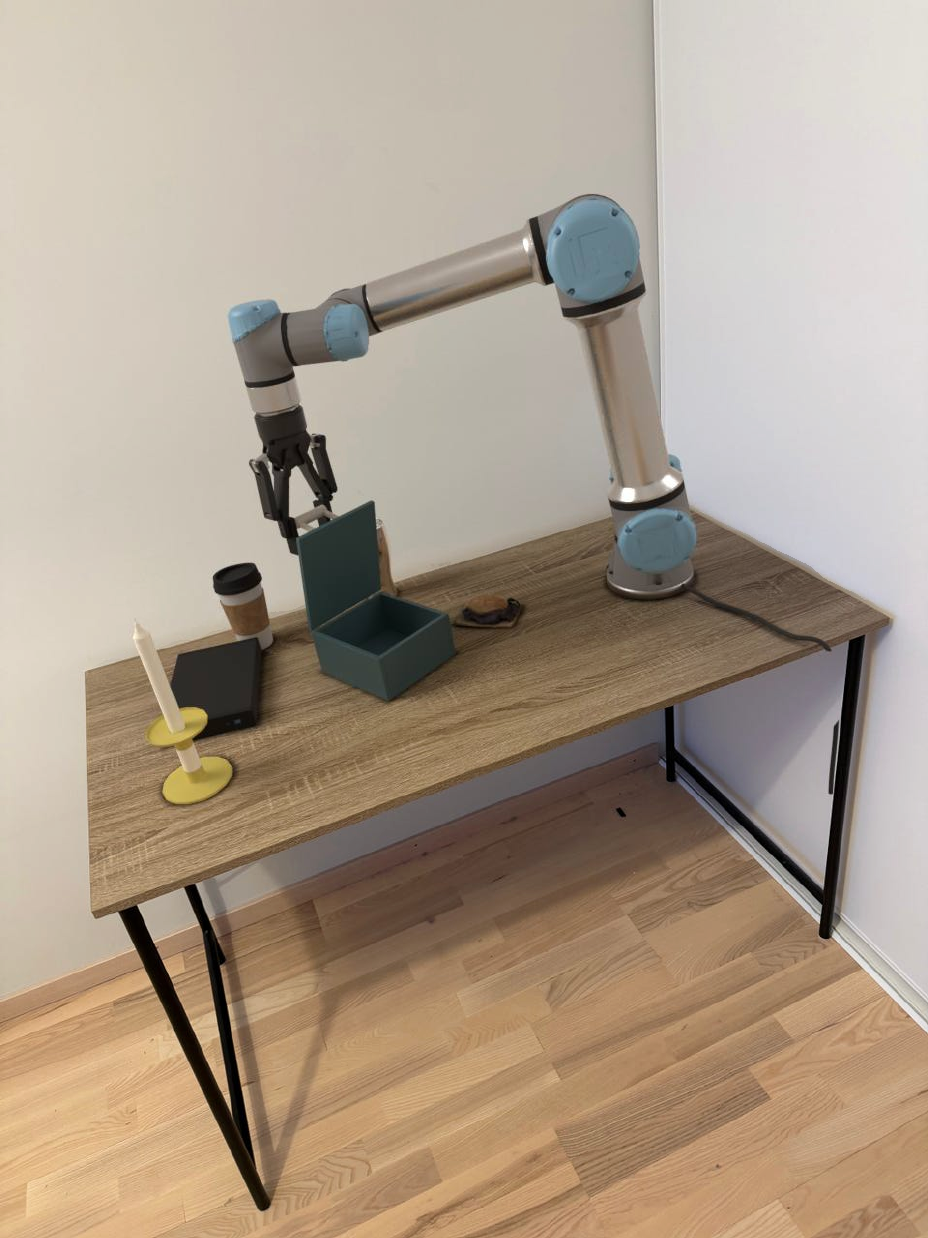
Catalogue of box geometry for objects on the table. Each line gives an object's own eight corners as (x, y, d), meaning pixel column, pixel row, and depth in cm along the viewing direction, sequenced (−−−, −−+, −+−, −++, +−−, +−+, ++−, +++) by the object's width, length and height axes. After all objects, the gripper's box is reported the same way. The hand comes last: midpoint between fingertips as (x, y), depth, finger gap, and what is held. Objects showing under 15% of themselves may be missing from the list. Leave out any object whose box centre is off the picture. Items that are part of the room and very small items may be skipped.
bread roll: (454, 628, 148) (450, 610, 146) (468, 604, 154) (464, 586, 153) (512, 629, 144) (509, 611, 142) (524, 604, 151) (521, 586, 149)
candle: (191, 754, 126) (130, 597, 113) (246, 762, 123) (189, 601, 109) (148, 798, 119) (77, 636, 105) (205, 809, 115) (138, 642, 102)
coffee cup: (269, 656, 149) (245, 581, 141) (226, 656, 151) (200, 582, 143) (287, 631, 156) (265, 558, 148) (245, 632, 158) (222, 560, 150)
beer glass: (406, 594, 161) (391, 523, 154) (375, 608, 158) (358, 536, 151) (388, 583, 166) (373, 513, 159) (358, 596, 163) (341, 526, 156)
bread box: (456, 653, 140) (448, 613, 136) (388, 701, 131) (378, 659, 127) (388, 629, 151) (380, 591, 147) (321, 671, 141) (310, 632, 137)
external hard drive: (262, 651, 150) (257, 636, 149) (256, 725, 130) (251, 710, 129) (182, 668, 149) (177, 654, 148) (164, 746, 129) (158, 731, 128)
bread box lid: (374, 501, 136) (341, 485, 140) (299, 539, 126) (265, 521, 131) (381, 589, 146) (350, 572, 151) (311, 630, 137) (280, 611, 141)
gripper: (310, 389, 136) (341, 519, 148) (211, 426, 125) (253, 564, 137) (340, 392, 132) (369, 527, 143) (239, 431, 120) (280, 574, 132)
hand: (312, 545), depth 140 cm, fingers closed on bread box lid, 6 cm apart
